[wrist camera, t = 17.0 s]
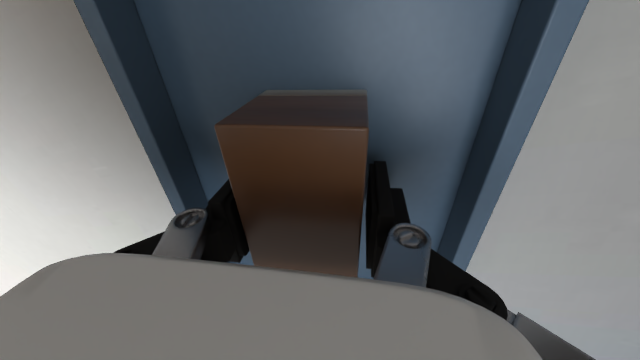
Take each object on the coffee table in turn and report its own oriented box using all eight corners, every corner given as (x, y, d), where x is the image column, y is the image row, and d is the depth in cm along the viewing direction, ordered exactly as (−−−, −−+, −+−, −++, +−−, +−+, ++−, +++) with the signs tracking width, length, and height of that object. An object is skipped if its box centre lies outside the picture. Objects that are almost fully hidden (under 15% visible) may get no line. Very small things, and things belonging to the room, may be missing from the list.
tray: (90, -101, 8) (5, -140, 6) (601, -176, 6) (716, -273, 4) (233, 277, 20) (218, 305, 18) (428, 301, 18) (436, 335, 16)
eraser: (265, 89, 10) (212, 124, 7) (367, 89, 10) (369, 127, 6) (288, 235, 15) (263, 303, 12) (356, 241, 15) (354, 315, 11)
